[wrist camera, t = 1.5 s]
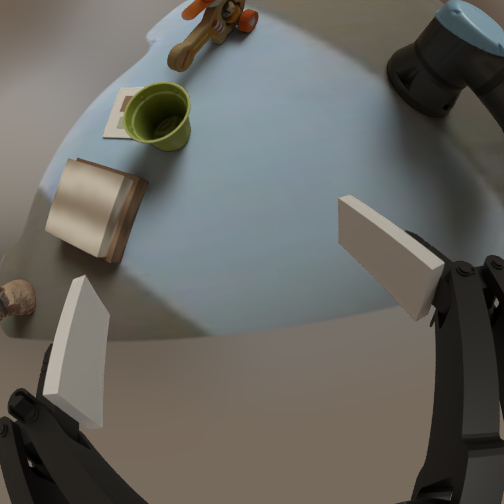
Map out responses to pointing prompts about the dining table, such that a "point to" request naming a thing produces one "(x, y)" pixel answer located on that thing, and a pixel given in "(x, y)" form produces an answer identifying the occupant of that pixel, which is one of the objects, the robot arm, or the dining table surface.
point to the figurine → (16, 298)
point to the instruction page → (119, 113)
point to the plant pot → (159, 116)
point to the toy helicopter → (210, 28)
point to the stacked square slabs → (95, 208)
